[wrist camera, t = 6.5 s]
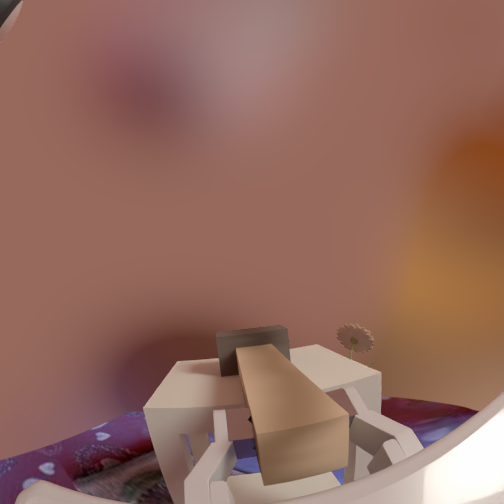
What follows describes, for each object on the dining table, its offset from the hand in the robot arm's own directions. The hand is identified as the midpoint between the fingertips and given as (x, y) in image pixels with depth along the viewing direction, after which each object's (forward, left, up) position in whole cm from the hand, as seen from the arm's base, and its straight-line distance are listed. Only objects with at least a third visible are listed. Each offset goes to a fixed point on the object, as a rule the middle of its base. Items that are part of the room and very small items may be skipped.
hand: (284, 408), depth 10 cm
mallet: (0, +6, -2) cm, 6 cm away
